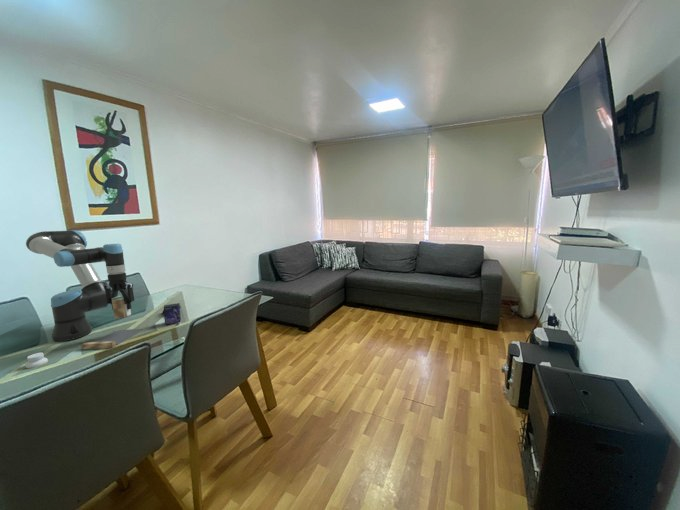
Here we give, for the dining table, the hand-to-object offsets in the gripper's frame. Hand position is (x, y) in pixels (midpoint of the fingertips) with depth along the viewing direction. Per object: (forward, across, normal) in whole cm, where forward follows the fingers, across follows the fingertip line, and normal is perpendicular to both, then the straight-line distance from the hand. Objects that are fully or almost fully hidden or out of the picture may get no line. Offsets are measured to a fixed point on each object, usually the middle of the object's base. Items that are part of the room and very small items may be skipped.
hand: (123, 315), depth 144 cm
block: (+1, 0, 0) cm, 1 cm away
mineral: (+10, +15, +22) cm, 28 cm away
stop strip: (+10, 0, -17) cm, 20 cm away
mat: (+10, 0, -6) cm, 12 cm away
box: (+10, +19, +12) cm, 24 cm away
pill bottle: (+18, -16, -30) cm, 38 cm away
